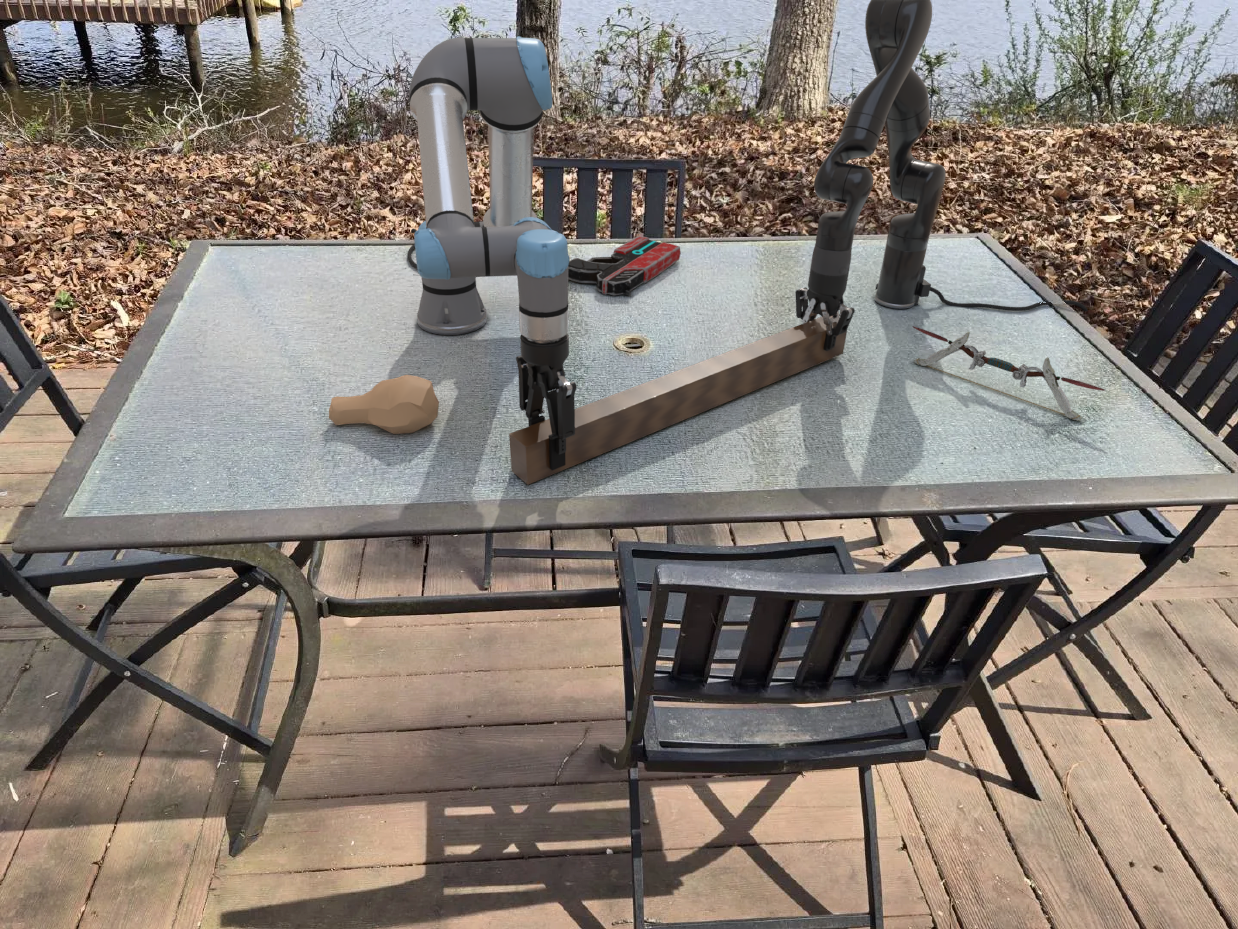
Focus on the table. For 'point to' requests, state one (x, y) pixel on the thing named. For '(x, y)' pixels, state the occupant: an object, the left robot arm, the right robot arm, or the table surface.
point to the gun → (625, 266)
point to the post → (673, 398)
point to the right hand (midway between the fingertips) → (817, 344)
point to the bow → (1018, 373)
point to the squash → (390, 405)
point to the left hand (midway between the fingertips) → (547, 458)
